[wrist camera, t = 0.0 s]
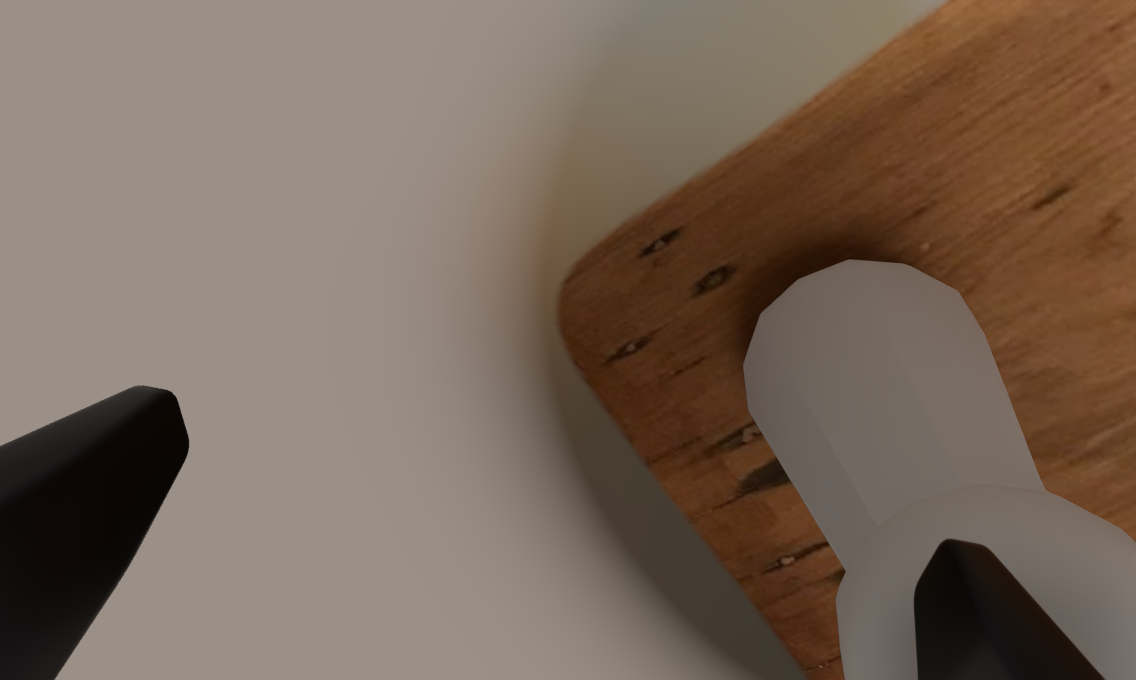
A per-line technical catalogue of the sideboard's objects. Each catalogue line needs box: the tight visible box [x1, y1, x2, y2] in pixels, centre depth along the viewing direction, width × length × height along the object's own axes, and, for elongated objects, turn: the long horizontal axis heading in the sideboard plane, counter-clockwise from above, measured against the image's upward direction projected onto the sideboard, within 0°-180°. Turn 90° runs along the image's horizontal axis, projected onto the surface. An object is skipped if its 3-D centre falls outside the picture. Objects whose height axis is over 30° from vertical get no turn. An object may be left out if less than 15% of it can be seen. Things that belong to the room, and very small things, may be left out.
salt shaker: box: [743, 259, 1136, 680], centre depth 15 cm, size 6×6×13 cm
